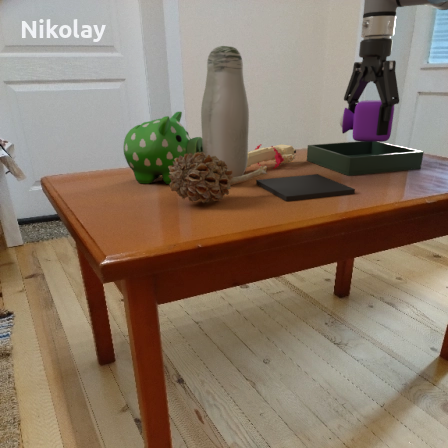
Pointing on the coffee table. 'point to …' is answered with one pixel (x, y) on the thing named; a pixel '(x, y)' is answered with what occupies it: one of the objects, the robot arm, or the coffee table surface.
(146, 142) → the piggy bank
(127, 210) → the coffee table surface
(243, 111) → the grey bottle
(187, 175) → the pine cone
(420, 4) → the robot arm
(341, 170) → the bin
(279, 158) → the beige long piece
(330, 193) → the mat
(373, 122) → the toy camera
